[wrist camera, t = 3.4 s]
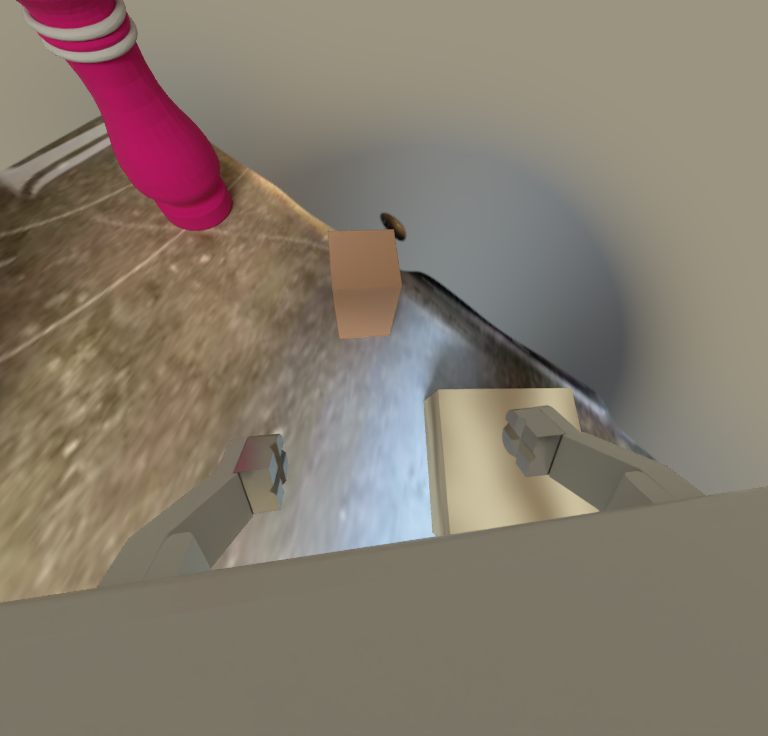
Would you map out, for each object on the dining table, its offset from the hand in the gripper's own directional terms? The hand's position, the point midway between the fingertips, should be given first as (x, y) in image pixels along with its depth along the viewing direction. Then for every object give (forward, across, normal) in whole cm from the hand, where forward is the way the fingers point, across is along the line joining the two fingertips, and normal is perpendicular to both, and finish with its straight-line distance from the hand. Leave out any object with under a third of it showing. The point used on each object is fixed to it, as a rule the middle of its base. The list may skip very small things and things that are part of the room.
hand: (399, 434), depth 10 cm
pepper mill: (+27, +15, -8) cm, 32 cm away
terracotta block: (+18, 0, +1) cm, 18 cm away
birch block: (+8, -9, +11) cm, 17 cm away
